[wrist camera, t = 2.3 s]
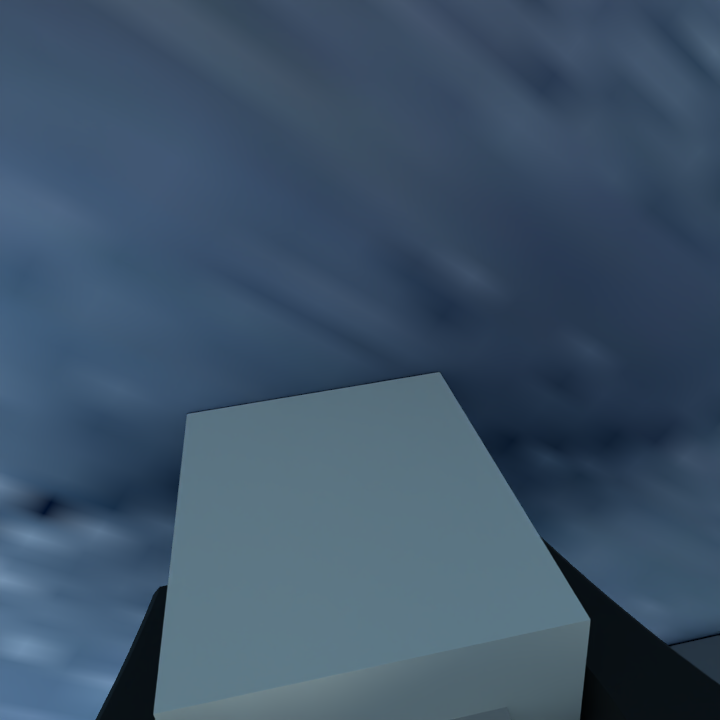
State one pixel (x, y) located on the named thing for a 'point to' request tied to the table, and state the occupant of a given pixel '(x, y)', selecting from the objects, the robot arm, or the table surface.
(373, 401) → the grey plug
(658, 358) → the table surface
